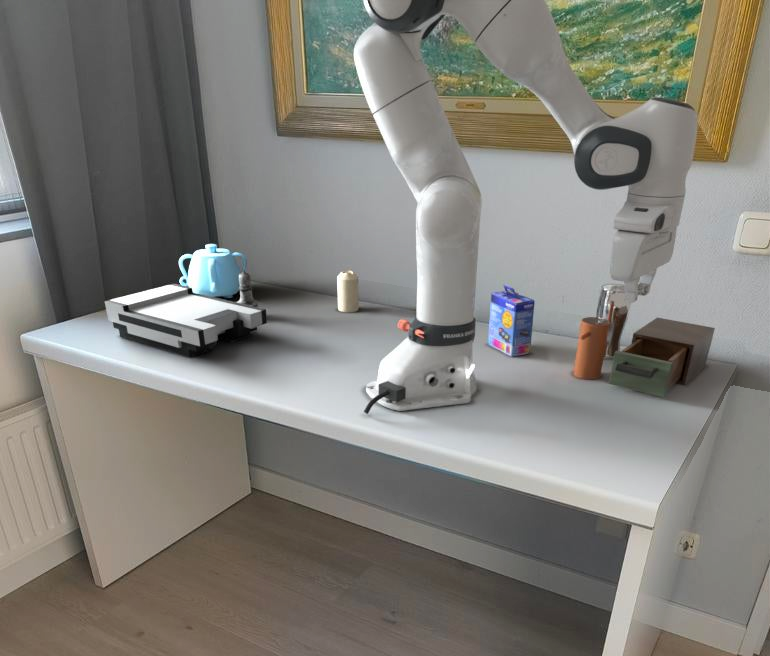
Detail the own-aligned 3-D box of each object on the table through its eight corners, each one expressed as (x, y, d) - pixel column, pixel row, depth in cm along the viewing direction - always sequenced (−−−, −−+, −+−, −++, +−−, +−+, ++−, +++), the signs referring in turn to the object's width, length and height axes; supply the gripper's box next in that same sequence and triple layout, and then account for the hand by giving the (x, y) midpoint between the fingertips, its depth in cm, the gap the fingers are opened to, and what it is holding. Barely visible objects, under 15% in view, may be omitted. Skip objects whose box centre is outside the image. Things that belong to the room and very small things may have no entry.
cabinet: (684, 385, 146) (694, 345, 141) (625, 371, 152) (633, 333, 148) (705, 365, 156) (714, 327, 151) (649, 354, 162) (657, 317, 158)
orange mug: (579, 368, 154) (588, 315, 148) (604, 374, 151) (614, 319, 145) (562, 380, 148) (570, 325, 142) (587, 386, 145) (596, 330, 139)
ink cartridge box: (485, 344, 167) (490, 281, 159) (505, 341, 169) (510, 279, 162) (510, 357, 160) (517, 292, 152) (530, 353, 162) (538, 289, 154)
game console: (202, 362, 156) (197, 325, 152) (111, 335, 172) (104, 301, 167) (268, 338, 170) (265, 303, 166) (178, 315, 186) (174, 283, 182)
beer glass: (622, 360, 158) (635, 292, 150) (590, 358, 159) (601, 290, 151) (620, 350, 164) (632, 284, 156) (589, 348, 165) (599, 282, 157)
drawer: (656, 403, 135) (664, 370, 132) (600, 390, 141) (606, 357, 138) (685, 377, 147) (693, 345, 144) (633, 365, 153) (639, 335, 149)
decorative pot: (257, 294, 204) (253, 244, 197) (211, 305, 194) (205, 253, 187) (222, 284, 214) (216, 236, 207) (176, 294, 203) (169, 244, 196)
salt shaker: (248, 312, 189) (243, 265, 183) (264, 315, 186) (260, 268, 180) (232, 317, 185) (226, 269, 179) (248, 321, 182) (243, 273, 176)
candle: (358, 312, 189) (357, 274, 184) (337, 312, 189) (336, 273, 184) (359, 306, 194) (358, 269, 188) (338, 306, 194) (337, 268, 188)
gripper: (655, 203, 125) (640, 283, 132) (610, 218, 111) (595, 307, 118) (692, 206, 122) (674, 288, 129) (649, 223, 108) (632, 314, 115)
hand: (636, 298), depth 124 cm, fingers open, 4 cm apart
